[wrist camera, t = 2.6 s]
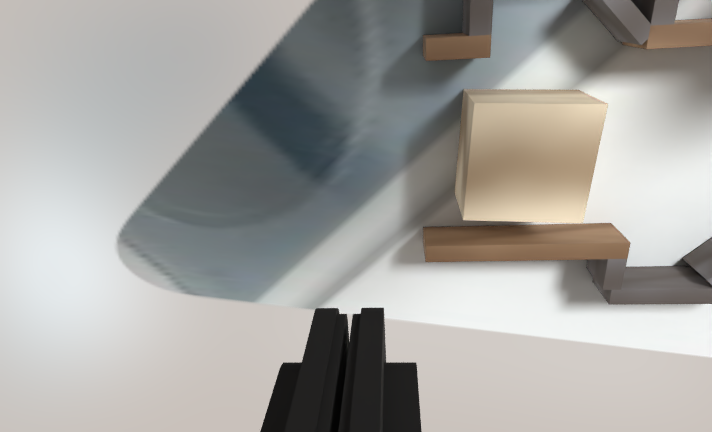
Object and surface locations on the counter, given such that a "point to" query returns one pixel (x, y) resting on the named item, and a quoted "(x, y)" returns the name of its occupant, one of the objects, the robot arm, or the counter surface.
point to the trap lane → (580, 241)
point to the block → (527, 154)
